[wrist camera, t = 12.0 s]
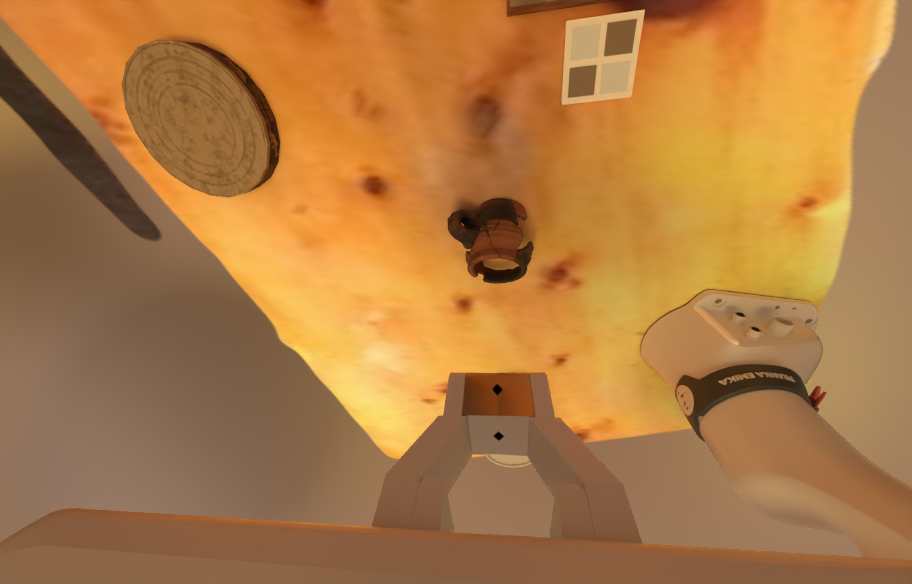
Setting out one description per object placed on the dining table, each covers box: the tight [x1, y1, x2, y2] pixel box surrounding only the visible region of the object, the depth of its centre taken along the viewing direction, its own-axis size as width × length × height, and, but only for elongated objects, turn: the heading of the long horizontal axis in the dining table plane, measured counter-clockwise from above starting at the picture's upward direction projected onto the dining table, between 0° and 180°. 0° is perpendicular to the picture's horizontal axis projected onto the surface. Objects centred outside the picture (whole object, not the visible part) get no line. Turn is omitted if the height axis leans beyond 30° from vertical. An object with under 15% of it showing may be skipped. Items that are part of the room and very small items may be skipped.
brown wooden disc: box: [122, 40, 280, 197], centre depth 39 cm, size 16×16×3 cm
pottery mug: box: [448, 199, 534, 283], centre depth 42 cm, size 12×10×8 cm
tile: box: [561, 10, 645, 105], centre depth 33 cm, size 7×7×1 cm
